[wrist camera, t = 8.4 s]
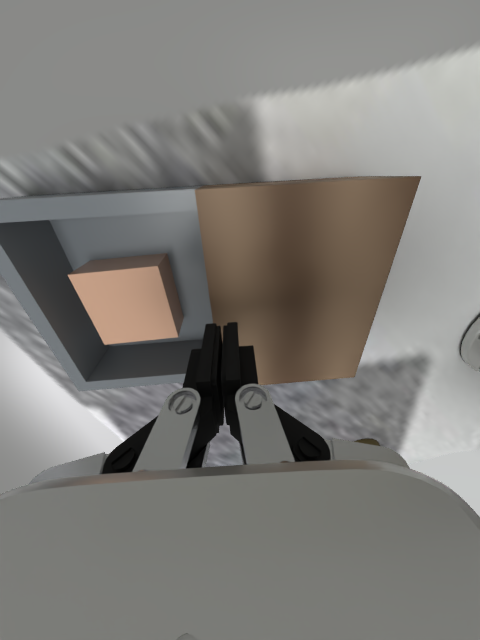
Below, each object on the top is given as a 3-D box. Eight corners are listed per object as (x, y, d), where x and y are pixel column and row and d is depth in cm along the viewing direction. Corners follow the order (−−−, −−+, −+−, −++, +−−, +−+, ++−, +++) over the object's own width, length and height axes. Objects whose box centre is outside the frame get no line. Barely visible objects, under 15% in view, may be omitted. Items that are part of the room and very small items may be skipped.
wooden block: (358, 176, 16) (421, 176, 11) (326, 334, 23) (354, 377, 18) (203, 185, 16) (194, 189, 10) (222, 342, 23) (222, 388, 18)
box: (203, 185, 16) (196, 188, 11) (222, 342, 23) (222, 379, 19) (27, 195, 15) (-48, 203, 11) (105, 351, 23) (78, 391, 19)
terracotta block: (67, 274, 15) (90, 260, 17) (104, 344, 18) (119, 324, 21) (157, 265, 15) (167, 253, 17) (178, 337, 18) (183, 317, 21)
